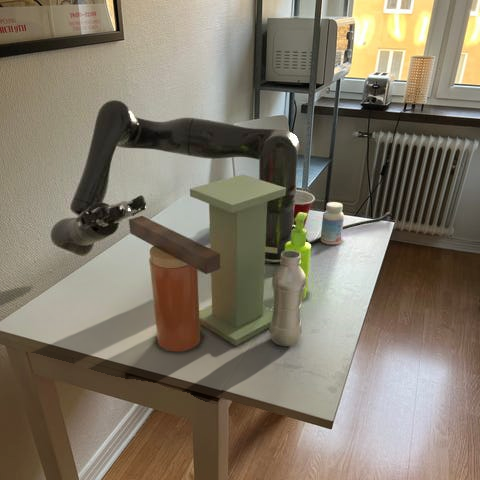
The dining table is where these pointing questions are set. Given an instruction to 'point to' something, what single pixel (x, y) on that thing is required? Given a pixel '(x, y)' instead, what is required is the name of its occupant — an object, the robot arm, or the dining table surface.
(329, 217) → the pill bottle
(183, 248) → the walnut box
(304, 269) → the soap dispenser
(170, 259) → the terracotta jar
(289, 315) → the plastic bottle
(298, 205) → the plastic cup
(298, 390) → the dining table surface
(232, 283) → the plant stand
